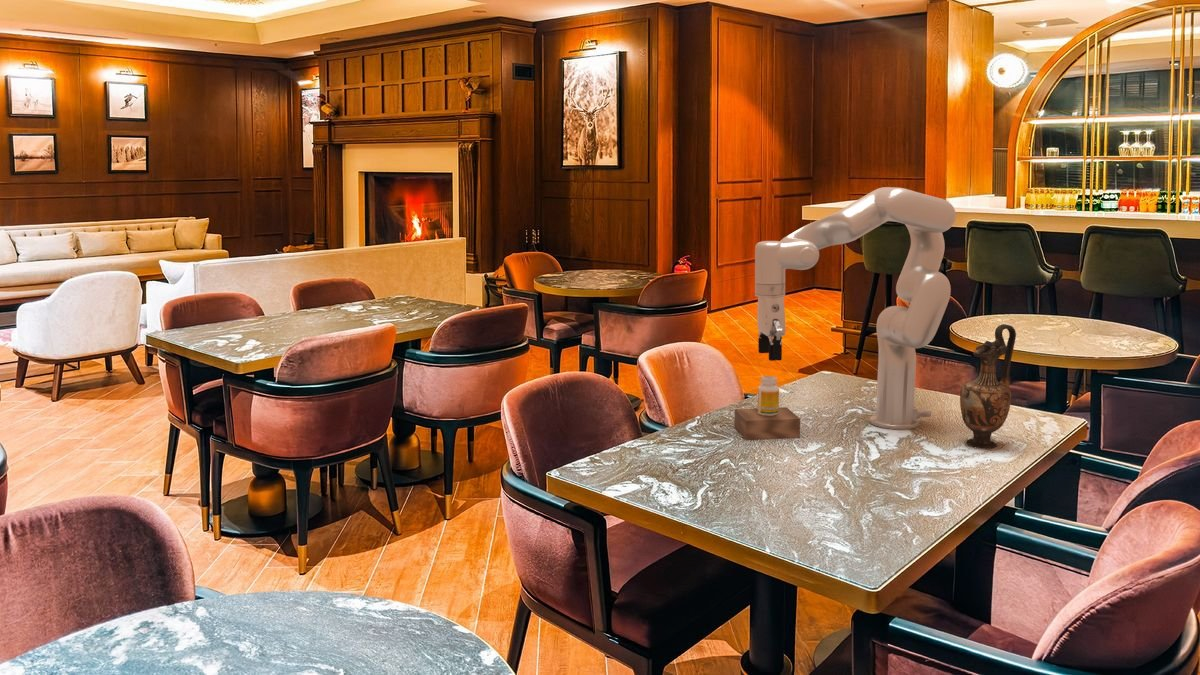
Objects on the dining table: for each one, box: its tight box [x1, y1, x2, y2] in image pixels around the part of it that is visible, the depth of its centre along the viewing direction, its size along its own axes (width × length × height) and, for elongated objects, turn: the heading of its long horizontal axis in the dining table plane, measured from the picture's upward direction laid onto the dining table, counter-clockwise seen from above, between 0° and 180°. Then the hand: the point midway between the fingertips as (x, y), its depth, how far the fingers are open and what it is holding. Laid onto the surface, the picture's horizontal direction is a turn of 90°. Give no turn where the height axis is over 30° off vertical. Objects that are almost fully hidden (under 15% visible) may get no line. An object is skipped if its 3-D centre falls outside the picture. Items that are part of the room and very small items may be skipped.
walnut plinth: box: [734, 406, 801, 441], centre depth 246 cm, size 14×12×5 cm
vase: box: [959, 323, 1017, 450], centre depth 232 cm, size 12×12×30 cm
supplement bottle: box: [756, 375, 780, 416], centre depth 245 cm, size 5×5×10 cm
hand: (769, 356), depth 243 cm, fingers open, 9 cm apart
